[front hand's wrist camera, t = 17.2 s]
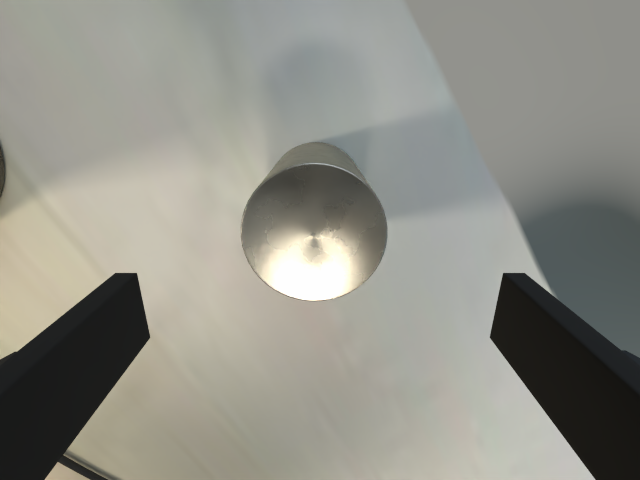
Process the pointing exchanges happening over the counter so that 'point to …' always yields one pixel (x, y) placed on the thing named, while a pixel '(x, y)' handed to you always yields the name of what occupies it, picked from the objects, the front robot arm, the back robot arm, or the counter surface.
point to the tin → (314, 225)
